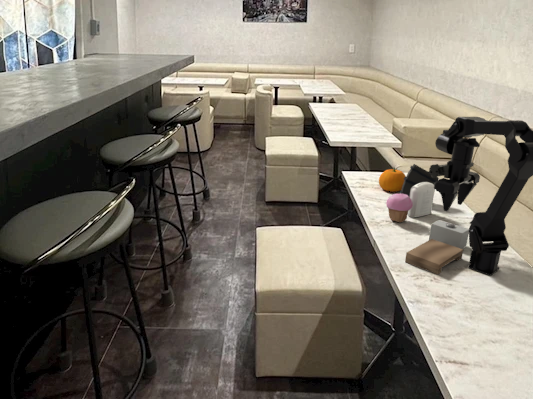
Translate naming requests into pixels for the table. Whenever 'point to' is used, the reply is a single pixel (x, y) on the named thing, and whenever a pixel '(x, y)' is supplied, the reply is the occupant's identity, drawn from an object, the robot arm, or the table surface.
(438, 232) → the block
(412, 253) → the walnut stand
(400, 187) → the fruit
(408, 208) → the cupcake
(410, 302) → the table surface
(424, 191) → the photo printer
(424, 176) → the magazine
